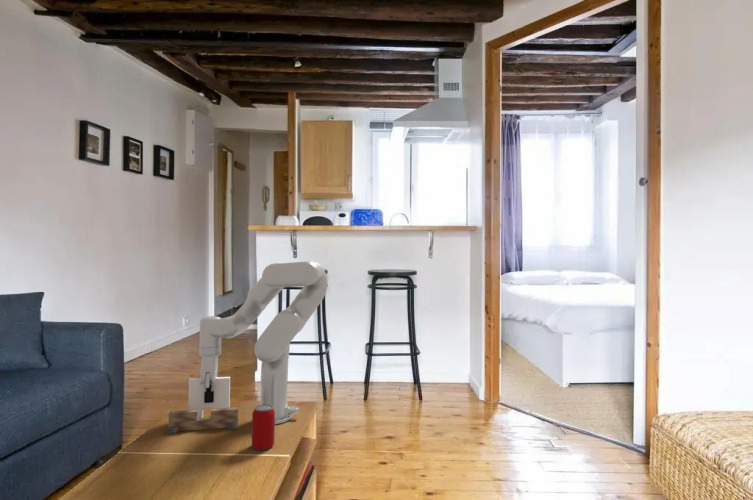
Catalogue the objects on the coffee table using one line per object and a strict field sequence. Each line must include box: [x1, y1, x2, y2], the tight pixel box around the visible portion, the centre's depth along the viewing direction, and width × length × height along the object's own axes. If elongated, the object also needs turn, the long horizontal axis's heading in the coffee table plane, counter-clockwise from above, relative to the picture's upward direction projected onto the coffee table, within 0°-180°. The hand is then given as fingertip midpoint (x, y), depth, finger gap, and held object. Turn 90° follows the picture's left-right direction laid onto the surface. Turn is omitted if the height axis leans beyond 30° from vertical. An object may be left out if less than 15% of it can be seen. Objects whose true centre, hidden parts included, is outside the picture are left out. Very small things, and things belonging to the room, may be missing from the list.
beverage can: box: [251, 404, 276, 451], centre depth 136 cm, size 7×7×12 cm
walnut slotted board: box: [166, 407, 239, 435], centre depth 150 cm, size 22×6×6 cm, turn 103°
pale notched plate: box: [187, 376, 231, 419], centre depth 161 cm, size 2×14×14 cm, turn 103°
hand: (209, 401), depth 161 cm, fingers closed on pale notched plate, 2 cm apart
